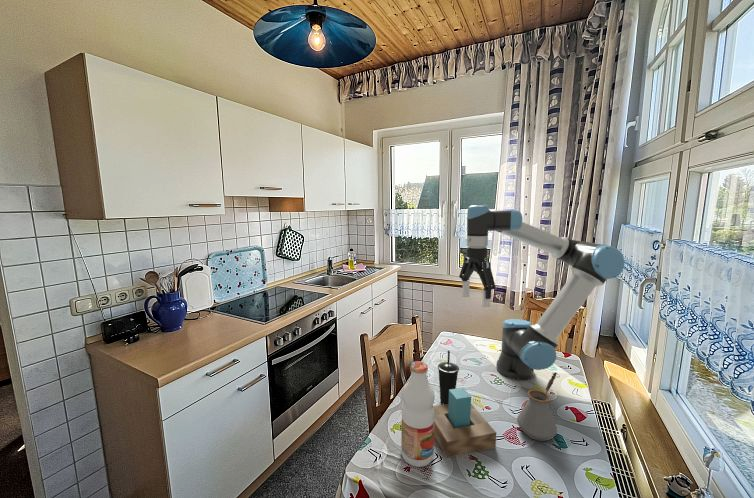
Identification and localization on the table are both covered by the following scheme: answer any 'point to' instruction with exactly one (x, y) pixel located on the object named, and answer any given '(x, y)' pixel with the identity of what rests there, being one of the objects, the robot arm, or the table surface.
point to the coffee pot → (538, 415)
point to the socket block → (462, 433)
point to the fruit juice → (418, 417)
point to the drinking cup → (447, 379)
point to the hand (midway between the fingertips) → (475, 301)
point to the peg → (459, 408)
